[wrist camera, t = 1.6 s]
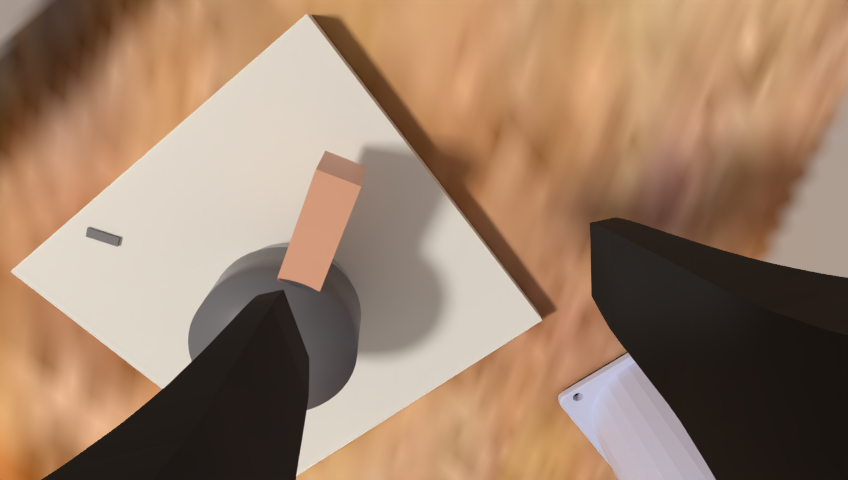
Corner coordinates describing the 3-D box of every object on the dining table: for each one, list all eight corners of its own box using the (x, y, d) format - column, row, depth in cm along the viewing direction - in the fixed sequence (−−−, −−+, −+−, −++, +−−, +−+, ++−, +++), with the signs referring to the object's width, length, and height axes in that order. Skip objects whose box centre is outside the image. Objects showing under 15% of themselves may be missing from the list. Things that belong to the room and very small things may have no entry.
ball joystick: (333, 388, 22) (326, 430, 19) (196, 348, 20) (171, 389, 18) (421, 188, 18) (426, 211, 16) (263, 126, 17) (243, 141, 15)
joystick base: (311, 14, 18) (301, 12, 16) (536, 308, 23) (548, 332, 21) (27, 260, 21) (-8, 283, 19) (288, 467, 26) (280, 500, 25)
